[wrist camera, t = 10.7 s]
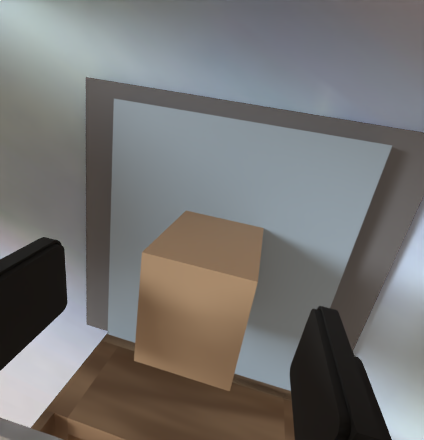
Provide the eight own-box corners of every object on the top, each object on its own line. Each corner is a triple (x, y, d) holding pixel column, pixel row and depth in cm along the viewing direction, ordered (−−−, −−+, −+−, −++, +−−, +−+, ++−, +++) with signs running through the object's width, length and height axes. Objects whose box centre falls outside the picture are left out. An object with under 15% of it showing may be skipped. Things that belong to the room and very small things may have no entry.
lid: (124, 100, 14) (23, 82, 8) (383, 144, 12) (477, 159, 6) (115, 323, 19) (49, 406, 13) (296, 378, 17) (306, 500, 11)
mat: (91, 78, 14) (85, 77, 14) (443, 136, 12) (450, 136, 11) (90, 319, 20) (86, 324, 19) (328, 392, 17) (330, 400, 17)
